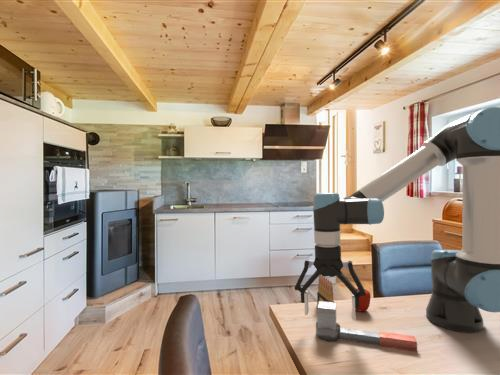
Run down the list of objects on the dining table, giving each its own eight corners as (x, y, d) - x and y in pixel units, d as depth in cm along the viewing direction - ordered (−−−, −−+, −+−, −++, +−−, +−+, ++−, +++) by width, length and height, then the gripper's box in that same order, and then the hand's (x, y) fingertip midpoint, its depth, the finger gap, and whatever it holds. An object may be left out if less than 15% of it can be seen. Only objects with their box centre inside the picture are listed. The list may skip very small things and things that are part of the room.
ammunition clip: (335, 317, 96) (334, 282, 96) (330, 317, 96) (329, 282, 96) (321, 304, 107) (321, 272, 107) (317, 305, 107) (316, 273, 107)
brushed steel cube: (336, 322, 86) (336, 302, 86) (335, 330, 81) (335, 309, 81) (319, 320, 88) (319, 301, 88) (317, 328, 83) (317, 307, 83)
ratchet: (412, 341, 81) (412, 318, 81) (418, 355, 74) (418, 330, 74) (317, 328, 89) (316, 307, 89) (314, 339, 82) (314, 317, 82)
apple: (358, 315, 98) (358, 293, 98) (348, 307, 104) (348, 287, 104) (374, 313, 99) (374, 291, 99) (363, 306, 105) (363, 285, 105)
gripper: (371, 243, 84) (374, 315, 84) (288, 241, 92) (290, 306, 92) (374, 248, 77) (376, 327, 77) (283, 245, 85) (286, 316, 85)
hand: (329, 316), depth 85 cm, fingers open, 13 cm apart
